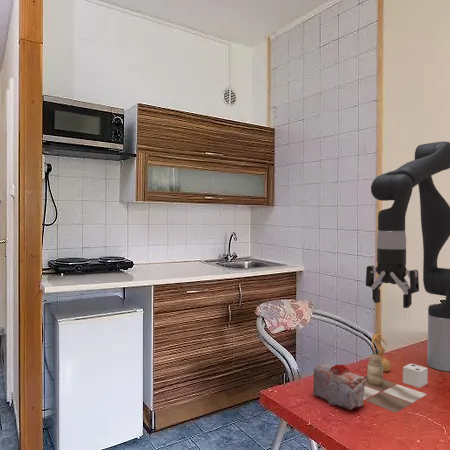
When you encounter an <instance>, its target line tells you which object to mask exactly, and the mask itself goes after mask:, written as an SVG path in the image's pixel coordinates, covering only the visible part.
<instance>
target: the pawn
mask: <svg viewBox="0 0 450 450" xmlns="http://www.w3.org/2000/svg"><path fill="white" fill-rule="evenodd" d="M380 356H381V355H380ZM380 356H379V354H371V356H369V357H368V358H369V359H368V362H367V371H366V372H367V373H366V374H367V375H366V376H367V382H368V383H369V384H371V385H375V386H380V385H383V380H384V371H383V364H382V359H381V357H382V356H381V357H380Z"/></svg>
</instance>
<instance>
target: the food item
mask: <svg viewBox="0 0 450 450" xmlns="http://www.w3.org/2000/svg"><path fill="white" fill-rule="evenodd" d="M365 382H366V376H361V375H360V374H356V373H353V372H351V371H350V368H349V367H347V366H346V365H345V364H339V363H336V364H335V365H331V364H329V363H321V364H319V365H317V366H315V367H314V368H313V389H312V390H313V391H312V394H313V395H314V396H315V397H316V396H317V397H319V398H322V399H323V400H326V401H327V402H328V404H329V405H332V406H338V407H341V408H344V409H346V410H348V411H350V410H354V409H357V408H361V407H363V406H364V401H365V400H363V399H364V391H365V390H364V386H365Z"/></svg>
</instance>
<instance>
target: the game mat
mask: <svg viewBox="0 0 450 450" xmlns="http://www.w3.org/2000/svg"><path fill="white" fill-rule="evenodd" d="M365 377H366V382H365V386H364V390H365V391H364V399H363V401H365V402H368V403H369V404H373V405H375V406H377V407H381V408H382V409H386V410H388V411H391V412H392V413H396V414H397V413H398V412H400V411H401V410H403V409H405V408H406V407H408V406H410V405H412V404H413V403H415V402H417V401H419V400H420V399H421V398H423V397H425V396H427V395H428V394H427V393H425V392H422V391H419V390H416V389H412V388H410V387H406V386H404V385H400V384H398V383H395V382H392V381H389V380H386V379H383V385H380V386H375V385H371V384H369V383H368V382H367V375H366V376H365Z"/></svg>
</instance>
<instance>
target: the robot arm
mask: <svg viewBox="0 0 450 450" xmlns="http://www.w3.org/2000/svg"><path fill="white" fill-rule="evenodd" d="M449 169H450V142H449V141H436V142H435V141H434V142H430V143H422V144H419V145H417V147H416V149H415V151H414V159H413V160H411V161H409V162H406V163H404V164H403V165H401V166H399V167H398V168H396V169H394V170H390V171H388V172H385V173H382V174H380V175H378V176H377V177H375V178H374V180H373V181H372V183H371V185H370V193H371V195H372V196H373V198H375V199H376V200H378V201H380V202H381V201H383V202H384V201H385V202H387V201H393V203H392V205H391V207H389V208H385V209H381V210H380V211H378V213H377V214H378V215H377V235H376V263H377V266H375V265H373V264H372V265H368V266H366V274H365V275H366V276H365V286H366V287H368V288H371V290H372V297H371V298H372V301H373V303H375V304H379V303H380V302H381V289H380V288H381V287H382V285H383V284H392V285H397V286H398V288H400V289H401V291H402V292H403V295H402V301H403V302H402V304H403V306H402V307H403V308H404V309H409V308H410V306H412V305H413V304H412V300H413V299H412V295H413V294H414V293H415V294H416V293H419V292H420V283H419V282H420V281H419V278H420V277H419V271H418V269H413V270H411V269H407V266H406V265H407V236H406V214H407V211H408V206H409V203H410V199H411V197H412V193H413V189H414V188H415V187H416V186H417V185H418V194H419V205H420V208H419V209H420V224H421V225H420V226H421V235H422V247H423V248H422V249H423V253H422V254H423V259H422V260H423V263H422V265H423V266H422V267H423V268H422V283H423V287H424V291H425V292H426V293H427V294H430V295H436V296H437V295H438V296H443V297H445V300H444V301H442V302H440V303H436V304H430V305H429V306H428V309H427V310H428V311H427V354H426V355H427V357H426V358H427V359H426V360H427V361H426V362H427V364H426V365H427V366H428V367H430V368H433V369H436V370H439V371H443V372H444V371H445V372H450V268H445V267H444V268H443V267H438V258H439V254H440V252H441V250H442V248H443V247H444V245H445V244H446V242H447V241H448V240H449V238H450V205H449V203H448V202H447V201H446V199H445V198H444V197H443V195H442V194H441V193H440V191H439V190H438V189H437V188H436V185H435V184H434V180H433V176H434V175H436V174H438V173H441V172H442V171H443V172H444V171H447V170H449ZM376 273H377V275H378V277H376V279H375V274H376ZM406 276H407V277H408V278H409V282H408V280H407V279H406Z"/></svg>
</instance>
